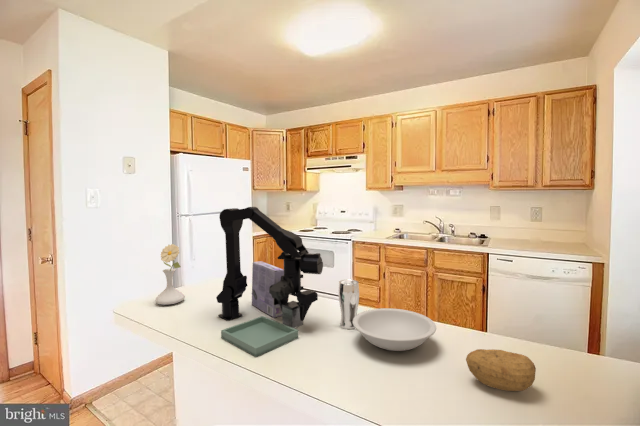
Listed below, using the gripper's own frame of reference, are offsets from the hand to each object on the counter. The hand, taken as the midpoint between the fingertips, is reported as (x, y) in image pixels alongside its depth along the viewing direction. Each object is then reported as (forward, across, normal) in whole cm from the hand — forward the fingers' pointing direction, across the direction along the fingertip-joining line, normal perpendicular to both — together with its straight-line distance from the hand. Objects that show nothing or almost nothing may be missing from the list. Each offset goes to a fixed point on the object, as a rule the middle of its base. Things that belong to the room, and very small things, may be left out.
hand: (293, 317), depth 110 cm
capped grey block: (+3, 0, 0) cm, 3 cm away
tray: (+2, 0, -14) cm, 14 cm away
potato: (+3, +62, +7) cm, 62 cm away
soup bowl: (+3, +33, +10) cm, 35 cm away
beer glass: (+3, +15, +12) cm, 19 cm away
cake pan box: (+3, -18, +3) cm, 18 cm away
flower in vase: (+3, -55, -18) cm, 58 cm away
